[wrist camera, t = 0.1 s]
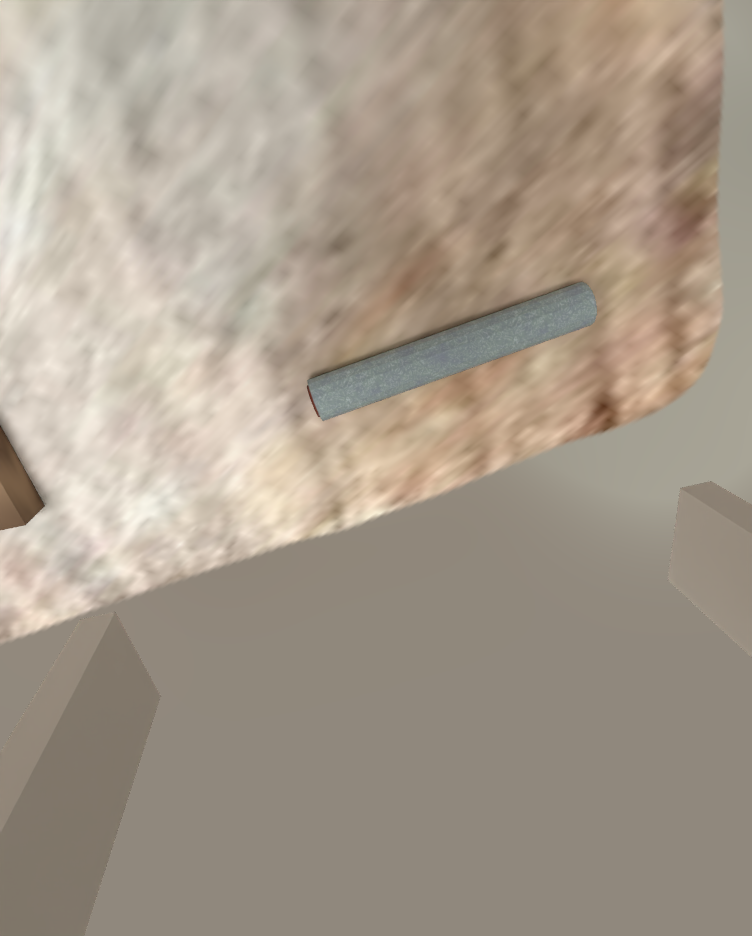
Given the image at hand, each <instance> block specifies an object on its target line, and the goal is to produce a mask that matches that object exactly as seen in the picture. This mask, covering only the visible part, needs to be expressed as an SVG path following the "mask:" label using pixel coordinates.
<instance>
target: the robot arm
mask: <svg viewBox="0 0 752 936" xmlns="http://www.w3.org/2000/svg"><path fill="white" fill-rule="evenodd" d="M668 581H669V582H670V583H671V584H672V585H674V586H675V587H676V588H677V589H678V590H679V591H680V592H681V593H682V594H683V595H684V596H686V597H687V598H688V599H689V600H690V601H691V602H692V603H693V604H694V605H695V606H697V608H699V609H700V610H701V611H702V612H703V613H704V614H705V615H706V616H707V617H708V618H709V619H710V620H712V621H713V622H714V623H715V624H716V625H717V626H718V627H719V628H720V629H721V630H723V632H725V633H726V634H727V635H728V636H729V637H730V638H731V639H732V640H733V641H734V642H736V644H738V645H739V646H740V647H741V648H742V649H743V650H744V651H746V653H747V654H748V655H750V656H751V657H752V505H751V504H750V503H748V502H746V501H744V500H743V499H741V498H739V497H737V496H736V495H734V494H732V493H731V492H729V491H727V490H725V489H724V488H722V487H720V486H719V485H717V484H715V483H713V482H711V481H710V482H705V483H701V484H697V485H692V486H687V487H682V488H680V493H679V501H678V508H677V515H676V523H675V531H674V538H673V545H672V552H671V559H670V567H669V574H668ZM160 697H161V696H160V694H159V692H158V690H157V688H156V686H155V684H154V683H153V681H152V679H151V677H150V675H149V673H148V672H147V670H146V668H145V666H144V664H143V662H142V660H141V658H140V657H139V655H138V653H137V651H136V649H135V647H134V645H133V644H132V642H131V640H130V638H129V636H128V634H127V632H126V630H125V629H124V627H123V625H122V623H121V621H120V619H119V617H118V616H117V614H116V612H112V613H108V614H103V615H98V616H93V617H89V618H84V619H80V621H79V622H78V624H77V626H76V628H75V629H74V631H73V632H72V634H71V636H70V637H69V639H68V641H67V642H66V644H65V646H64V647H63V649H62V651H61V652H60V654H59V656H58V657H57V659H56V661H55V662H54V664H53V666H52V667H51V669H50V671H49V672H48V674H47V676H46V677H45V679H44V680H43V682H42V684H41V685H40V687H39V689H38V690H37V692H36V694H35V696H34V697H33V699H32V700H31V702H30V704H29V706H28V707H27V709H26V710H25V712H24V714H23V716H22V717H21V719H20V720H19V722H18V724H17V725H16V727H15V729H14V730H13V732H12V734H11V735H10V737H9V739H8V740H7V742H6V744H5V745H4V747H3V749H2V750H1V752H0V936H84V934H85V931H86V928H87V925H88V922H89V919H90V915H91V913H92V910H93V906H94V903H95V900H96V897H97V894H98V891H99V887H100V885H101V881H102V878H103V875H104V872H105V869H106V866H107V863H108V859H109V856H110V853H111V850H112V847H113V844H114V841H115V838H116V835H117V831H118V828H119V825H120V822H121V819H122V816H123V813H124V810H125V806H126V803H127V800H128V797H129V794H130V791H131V788H132V785H133V782H134V778H135V775H136V772H137V769H138V766H139V763H140V760H141V757H142V753H143V750H144V747H145V744H146V741H147V737H148V735H149V732H150V728H151V725H152V722H153V719H154V716H155V713H156V710H157V706H158V703H159V700H160Z"/></svg>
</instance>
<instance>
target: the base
mask: <svg viewBox="0 0 752 936" xmlns="http://www.w3.org/2000/svg"><path fill="white" fill-rule="evenodd" d="M43 507H44V504H43V502H42V500H41V498H40V497H39V495H38V493H37V491H36V489H35V488H34V486H33V484H32V482H31V480H30V479H29V477H28V475H27V473H26V471H25V470H24V468H23V466H22V464H21V462H20V461H19V459H18V457H17V455H16V453H15V452H14V450H13V448H12V446H11V444H10V442H9V441H8V439H7V437H6V435H5V433H4V432H3V430H2V428H1V426H0V530H4V529H9V528H14V527H19V526H23V525H26V524H27V523H28V522H29V521H30V520H31V519H32V518H33V517H34V516H35V515H36V514H37V513H38V512H39V511H40V510H41V509H42V508H43Z"/></svg>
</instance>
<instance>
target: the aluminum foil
mask: <svg viewBox="0 0 752 936" xmlns="http://www.w3.org/2000/svg"><path fill="white" fill-rule="evenodd" d="M596 315H597V306H596V301H595V297H594V295H593V292H592V290H591V289H590V287H589V286H588V285H587V284H586V283H584V282H579V283H576V284H573V285H571V286H568V287H565V288H562V289H559V290H557V291H554V292H551V293H548V294H546V295H543V296H540V297H537V298H534V299H532V300H529V301H526V302H523V303H520V304H518V305H515V306H512V307H509V308H507V309H504V310H501V311H498V312H495V313H493V314H490V315H487V316H484V317H482V318H479V319H476V320H473V321H470V322H468V323H465V324H462V325H459V326H456V327H454V328H451V329H448V330H445V331H443V332H440V333H437V334H434V335H431V336H429V337H426V338H423V339H420V340H418V341H415V342H412V343H409V344H406V345H404V346H401V347H398V348H395V349H393V350H390V351H387V352H384V353H381V354H379V355H376V356H373V357H370V358H367V359H365V360H362V361H359V362H356V363H354V364H351V365H348V366H345V367H342V368H340V369H337V370H334V371H331V372H329V373H326V374H323V375H320V376H317V377H315V378H312V379H309V380H307V381H308V385H307V389H308V393H309V396H310V399H311V402H312V404H313V407H314V409H315V411H316V413H317V415H318V417H321V419H322V421H324V420H327V419H330V418H333V417H335V416H338V415H341V414H344V413H347V412H349V411H352V410H355V409H358V408H361V407H363V406H366V405H369V404H372V403H375V402H377V401H380V400H383V399H386V398H389V397H391V396H394V395H397V394H400V393H403V392H405V391H408V390H411V389H414V388H417V387H419V386H422V385H425V384H428V383H430V382H433V381H436V380H439V379H442V378H444V377H447V376H450V375H453V374H456V373H458V372H461V371H464V370H467V369H470V368H472V367H475V366H478V365H481V364H484V363H486V362H489V361H492V360H495V359H498V358H500V357H503V356H506V355H509V354H511V353H514V352H517V351H520V350H523V349H525V348H528V347H531V346H534V345H537V344H539V343H542V342H545V341H548V340H551V339H553V338H556V337H559V336H562V335H565V334H567V333H570V332H573V331H576V330H579V329H581V328H584V327H587V326H590V325H592V324H593V323H594V322H595V319H596Z"/></svg>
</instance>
